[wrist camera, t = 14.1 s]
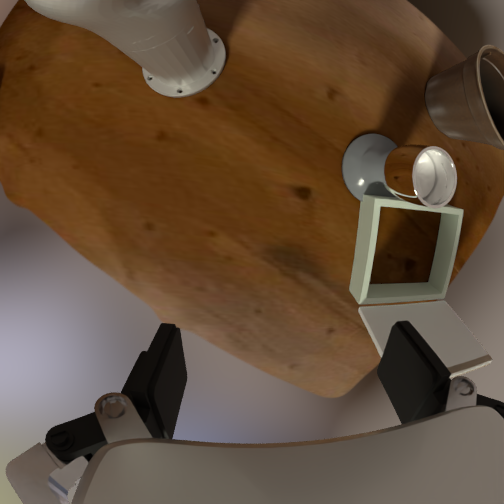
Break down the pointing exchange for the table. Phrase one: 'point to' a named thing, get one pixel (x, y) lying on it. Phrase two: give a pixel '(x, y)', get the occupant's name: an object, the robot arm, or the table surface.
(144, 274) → the table surface
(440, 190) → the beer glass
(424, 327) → the lid
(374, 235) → the frame
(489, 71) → the plant pot
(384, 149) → the grey round coaster
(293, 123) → the table surface
